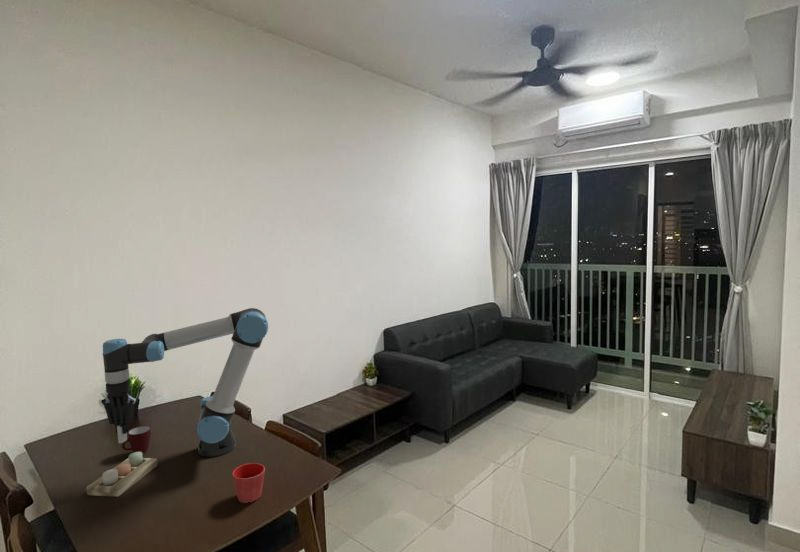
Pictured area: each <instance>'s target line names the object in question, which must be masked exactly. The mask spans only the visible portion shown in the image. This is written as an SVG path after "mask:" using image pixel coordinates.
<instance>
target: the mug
mask: <svg viewBox="0 0 800 552" xmlns="http://www.w3.org/2000/svg"><path fill="white" fill-rule="evenodd" d="M151 434H152V433H151V427H150V426H145V425H144V426H138V427H134V428H132V429H130V430H128V432H127V440H126V441H125V442H123V443H121V448H122V449H123V450H124V451H132V453H134V452H142V455H144V454H146V453H147V452H148V449H149V447H150V444H151V443H150V441H151ZM127 442H129V445H130V448H129V447H128V448H127V447H126V446H125V445H126V443H127Z"/></svg>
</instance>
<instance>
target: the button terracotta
mask: <svg viewBox="0 0 800 552" xmlns="http://www.w3.org/2000/svg"><path fill="white" fill-rule="evenodd" d="M118 465H119V464H118ZM118 465H116V466H117V468H116V469H117V470H118V476H126V475H127V474H129V473H130V472H131V464H130V463H125V464H121V465H119V466H118Z"/></svg>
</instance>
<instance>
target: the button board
mask: <svg viewBox="0 0 800 552" xmlns="http://www.w3.org/2000/svg"><path fill="white" fill-rule="evenodd" d="M125 463H129V457H128V458H126V459H125V460H123V461H122V462H120V463H118V464H117V465H116V466H115V467H113V468H112V469H116V468H117V466H119V465H121V464H125ZM157 466H158V458H153V457H152V458H151V457H143V462H142V463H141V464H139V465H136V466H131V472H130V473H129V474H127V475H126V476H118V481H117V482H115V483H113V484H111V485H104V484H103V476H101V477H99V478H98V479H96V480H94V481H93V482H91V483H90V484H89V485H87V486H86V495H87V496H99V497H116V498H118V497H120V496H121V495H122V494H124V493H125V492H126V491H127V490H129V489H130V488H132V486H134V485H135V484H136V483H138V482H139V481H140V480H141V479H143V478H144V477H145V476H146V475H148V474H149V473H150V472H151V471H153V470H154V469H155V468H157Z"/></svg>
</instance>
